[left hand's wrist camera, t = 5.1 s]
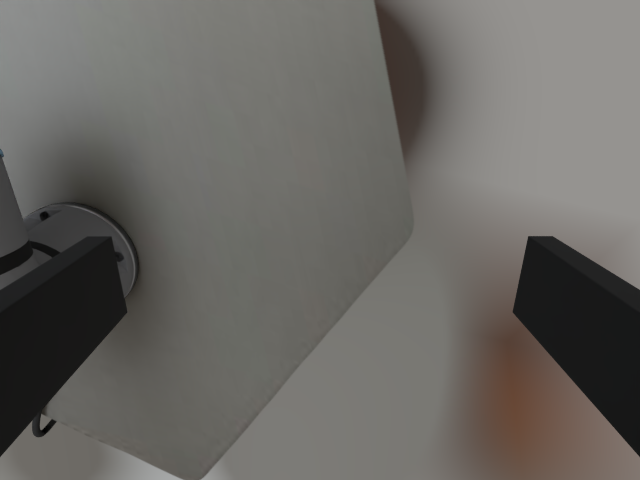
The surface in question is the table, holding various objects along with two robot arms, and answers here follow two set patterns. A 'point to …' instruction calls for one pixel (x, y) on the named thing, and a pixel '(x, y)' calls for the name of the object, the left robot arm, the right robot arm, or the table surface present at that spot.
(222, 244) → the table surface
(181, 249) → the table surface
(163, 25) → the table surface
